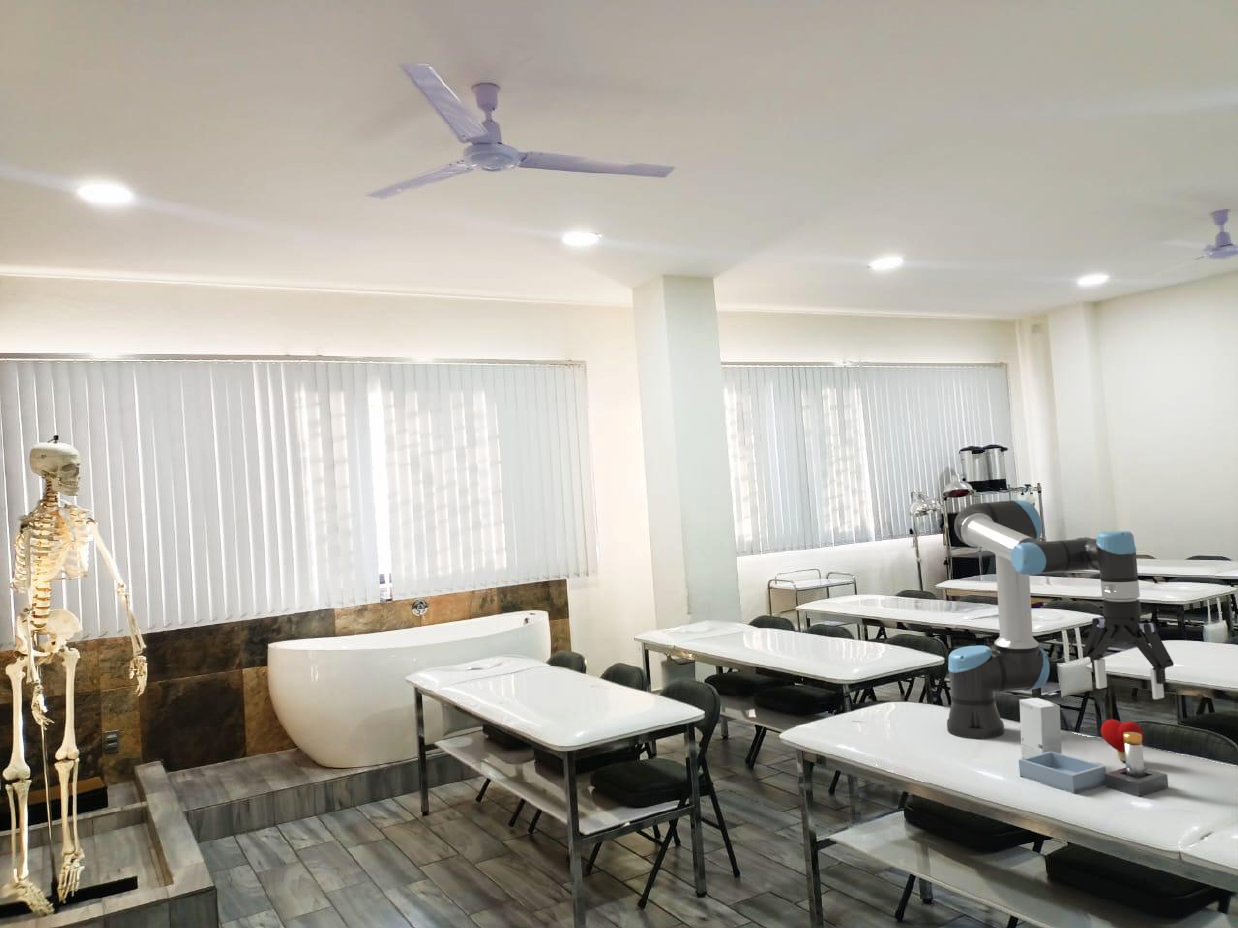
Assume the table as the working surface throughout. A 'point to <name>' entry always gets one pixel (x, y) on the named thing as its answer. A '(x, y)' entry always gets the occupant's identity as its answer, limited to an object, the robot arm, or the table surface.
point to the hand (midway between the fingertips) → (1129, 692)
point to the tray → (1062, 771)
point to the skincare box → (1039, 727)
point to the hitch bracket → (1136, 782)
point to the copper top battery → (1134, 754)
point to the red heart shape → (1118, 734)
